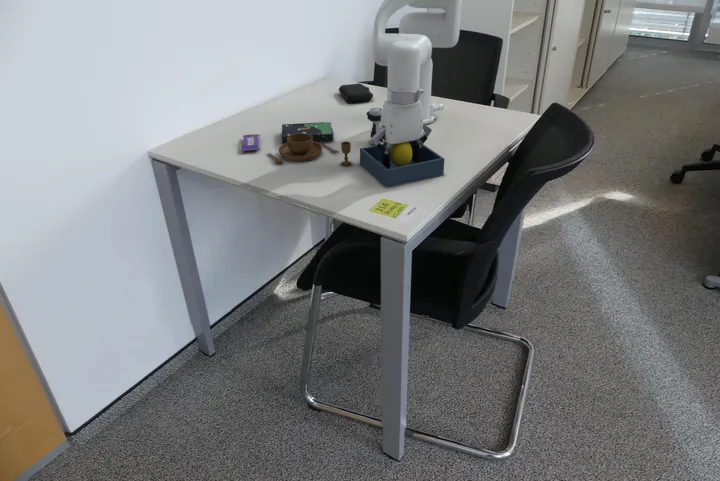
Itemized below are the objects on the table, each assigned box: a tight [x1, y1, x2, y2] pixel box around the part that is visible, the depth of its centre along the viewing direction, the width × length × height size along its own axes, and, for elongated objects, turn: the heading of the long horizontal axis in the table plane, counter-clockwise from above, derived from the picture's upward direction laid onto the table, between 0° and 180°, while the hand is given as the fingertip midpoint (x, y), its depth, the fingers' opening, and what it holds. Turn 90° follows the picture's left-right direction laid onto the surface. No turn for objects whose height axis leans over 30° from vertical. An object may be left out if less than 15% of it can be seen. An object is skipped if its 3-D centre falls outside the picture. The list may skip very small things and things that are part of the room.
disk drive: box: [281, 121, 334, 145], centre depth 159 cm, size 10×3×15 cm
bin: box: [359, 141, 445, 188], centre depth 138 cm, size 16×15×4 cm
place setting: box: [267, 133, 353, 167], centre depth 144 cm, size 18×20×6 cm
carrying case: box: [338, 83, 374, 104], centre depth 191 cm, size 11×3×15 cm
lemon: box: [391, 142, 412, 167], centre depth 137 cm, size 6×6×8 cm
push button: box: [366, 107, 384, 146], centre depth 151 cm, size 7×5×10 cm
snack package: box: [240, 133, 261, 152], centre depth 154 cm, size 12×2×5 cm
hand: (401, 163), depth 139 cm, fingers open, 7 cm apart
